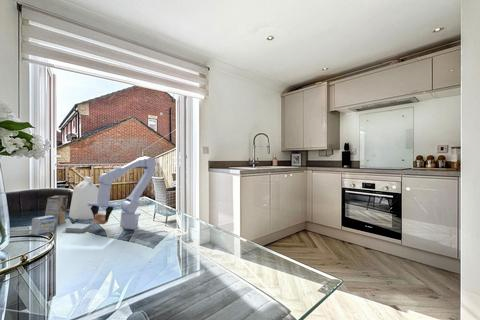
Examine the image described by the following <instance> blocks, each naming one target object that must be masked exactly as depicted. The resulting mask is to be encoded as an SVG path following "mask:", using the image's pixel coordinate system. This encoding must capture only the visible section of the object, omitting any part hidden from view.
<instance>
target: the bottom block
mask: <svg viewBox="0 0 480 320" xmlns="http://www.w3.org/2000/svg"><path fill="white" fill-rule="evenodd" d="M92 229H93V227H90V229H88V230H86V231H84V232H82V233H81V232H65V230H64V231H62V233H66V234H85V233H87V232H88V231H91V230H92Z"/></svg>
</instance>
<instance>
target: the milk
mask: <svg viewBox="0 0 480 320" xmlns="http://www.w3.org/2000/svg"><path fill="white" fill-rule="evenodd" d="M98 190H99V187H97V186H96V184H94V183H93V182H92V177H91V176H84V177H83V180H82V181H80V182H79V183H78V184H77V185H75V186H74V187H73V190H72V195H71V202H70V208H69V214H68V218H70V219H73V220H86V221H87V220H94V216H93V213H92V210H91V207H92V206H88V203H89V202H97V199H98Z"/></svg>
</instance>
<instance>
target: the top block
mask: <svg viewBox="0 0 480 320" xmlns="http://www.w3.org/2000/svg"><path fill="white" fill-rule="evenodd" d="M91 226H92V225H91V224H90V223H76V222H75V223H72V224H70V225H68V226H67V227H65V230H64V231H65V232H81V233H80V234H83V233H82V232H84V231H86V230H88V229H90V228H92V227H91ZM90 230H91V229H90Z"/></svg>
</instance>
